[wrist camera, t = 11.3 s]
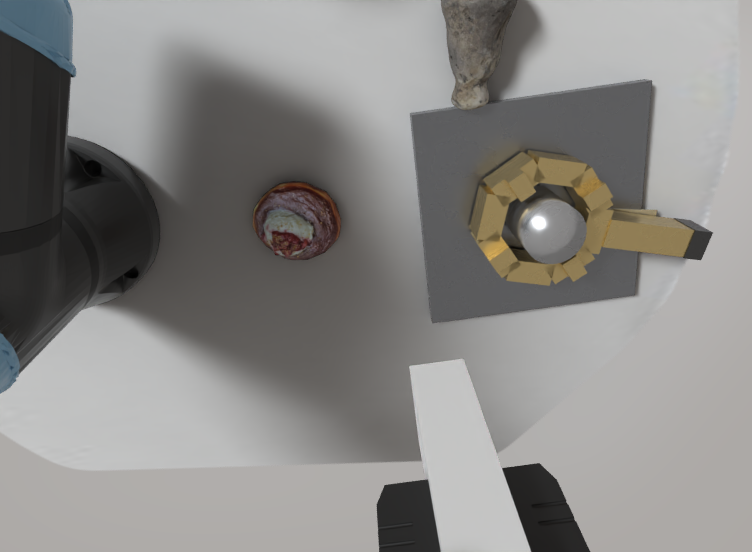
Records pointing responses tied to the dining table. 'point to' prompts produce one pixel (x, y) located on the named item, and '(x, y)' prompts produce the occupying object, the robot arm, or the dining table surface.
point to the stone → (474, 45)
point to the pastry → (297, 220)
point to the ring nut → (589, 202)
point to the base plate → (493, 146)
